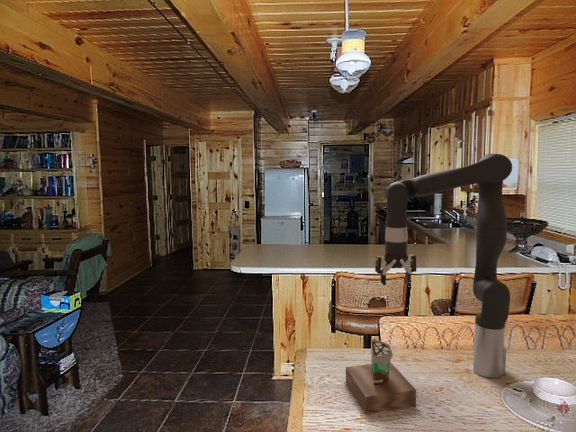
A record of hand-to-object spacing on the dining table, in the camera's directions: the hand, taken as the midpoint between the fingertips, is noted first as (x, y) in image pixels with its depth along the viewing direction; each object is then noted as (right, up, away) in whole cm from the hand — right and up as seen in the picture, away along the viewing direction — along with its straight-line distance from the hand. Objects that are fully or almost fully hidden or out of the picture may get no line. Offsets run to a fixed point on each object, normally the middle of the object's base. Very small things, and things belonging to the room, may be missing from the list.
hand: (395, 284), depth 148 cm
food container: (-8, -27, -16) cm, 33 cm away
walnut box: (-9, -33, -15) cm, 38 cm away
